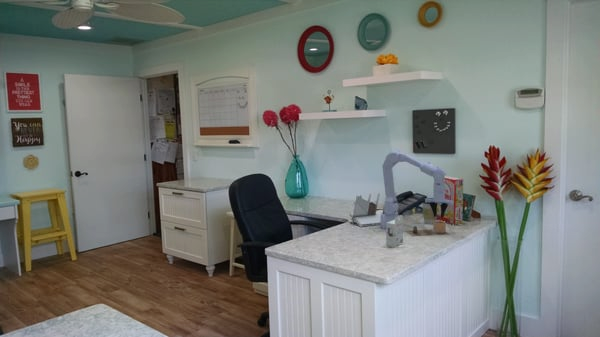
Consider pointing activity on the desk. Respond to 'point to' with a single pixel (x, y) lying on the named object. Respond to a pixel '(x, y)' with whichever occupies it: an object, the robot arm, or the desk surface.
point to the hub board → (424, 232)
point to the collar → (439, 226)
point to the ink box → (394, 232)
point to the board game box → (456, 195)
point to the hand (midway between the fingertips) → (438, 216)
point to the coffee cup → (428, 212)
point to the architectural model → (367, 212)
